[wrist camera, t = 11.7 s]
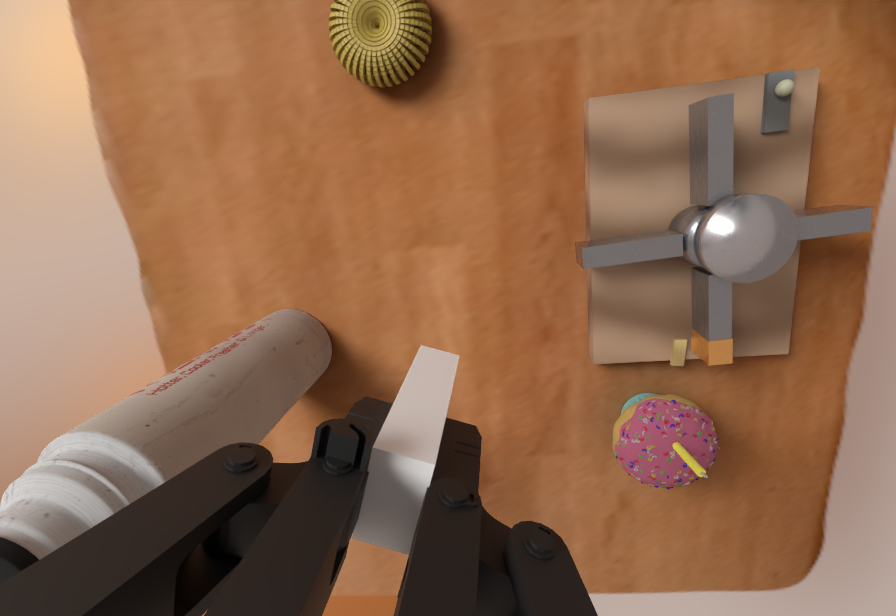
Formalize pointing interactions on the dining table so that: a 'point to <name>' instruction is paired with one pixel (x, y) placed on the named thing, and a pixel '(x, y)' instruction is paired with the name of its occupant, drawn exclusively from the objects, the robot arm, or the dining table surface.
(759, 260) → the capstan
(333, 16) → the sculpture
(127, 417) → the thermos bottle
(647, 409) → the cupcake
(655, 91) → the stand
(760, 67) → the dining table surface
